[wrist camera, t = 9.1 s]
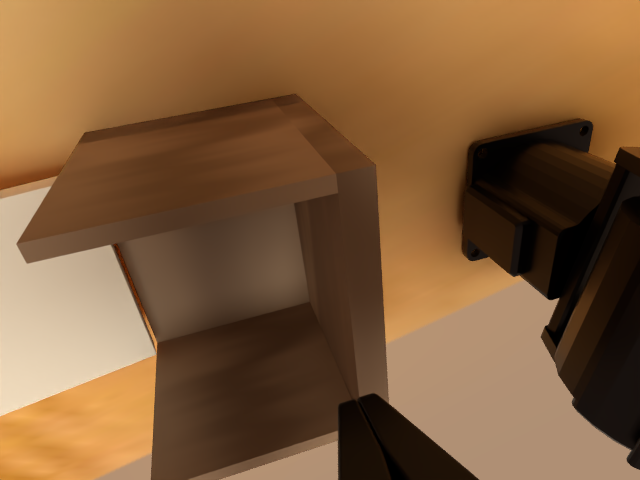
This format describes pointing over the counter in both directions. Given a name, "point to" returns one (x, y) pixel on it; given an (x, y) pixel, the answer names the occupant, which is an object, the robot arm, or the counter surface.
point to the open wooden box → (235, 273)
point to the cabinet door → (60, 311)
